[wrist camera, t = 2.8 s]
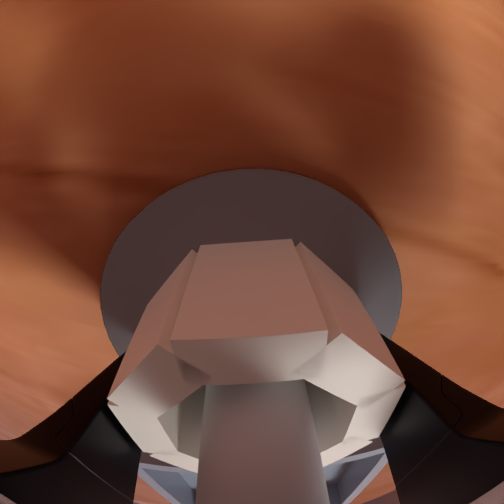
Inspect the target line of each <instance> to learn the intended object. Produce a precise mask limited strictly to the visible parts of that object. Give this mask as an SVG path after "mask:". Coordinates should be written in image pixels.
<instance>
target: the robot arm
mask: <svg viewBox="0 0 504 504" xmlns="http://www.w3.org/2000/svg"><path fill="white" fill-rule="evenodd" d="M380 335H381V337H382V339H383V340H384V342H385V344H386V346H387V347H388V349H389V351H390V353H391V355H392V357H393V358H394V360H395V362H396V364H397V366H398V368H399V369H400V371H401V373H402V375H403V377H404V379H405V381H404V384H405V386H406V387H405V389H404V391H403V393H402V395H401V397H400V399H399V401H398V403H397V405H396V407H395V409H394V411H393V412H392V414H391V416H390V418H389V420H388V422H387V423H386V425H385V427H384V429H383V430H382V432H381V434H380V438H381V441H382V444H383V447H384V450H385V453H386V456H387V460H388V463H389V466H390V469H391V473H392V476H393V480H394V483H395V486H396V490H397V494H398V498H399V501H400V504H504V408H500V407H498V406H496V405H494V404H492V403H490V402H488V401H486V400H484V399H482V398H480V397H479V396H477V395H475V394H473V393H471V392H469V391H468V390H466V389H464V388H462V387H460V386H459V385H457V384H456V383H454V382H453V381H451V380H450V379H448V378H447V377H445V376H444V375H441V374H440V373H439V372H438V371H436V370H435V369H433V368H432V367H430V366H429V365H427V364H426V363H424V362H423V361H421V360H420V359H418V358H417V357H415V356H414V355H412V354H411V353H409V352H408V351H406V350H405V349H403V348H402V347H400V346H399V345H397V344H396V343H394V342H393V341H391V340H390V339H388V338H387V337H385V336H384V335H382V334H381V333H380ZM125 353H126V351H125V352H124V353H123V354H122V355H121V356H120V357H118V358H117V359H116V360H115V361H114V362H113V363H112V364H110V365H109V366H108V367H107V368H106V369H105V370H103V371H102V372H101V373H100V374H99V375H98V376H96V377H95V378H94V379H93V380H92V381H91V382H90V383H88V384H87V385H86V386H85V387H84V388H83V389H82V390H80V391H79V392H78V393H77V394H76V395H75V396H73V399H72V398H71V399H70V400H69V401H68V402H66V403H65V404H64V405H63V406H62V407H61V408H59V409H58V410H57V411H56V412H54V413H53V414H52V415H50V416H49V417H48V418H46V419H45V420H44V421H42V422H41V423H39V424H38V425H37V426H35V427H34V428H32V429H31V430H30V431H28V432H27V433H25V434H24V435H22V436H21V437H18V438H16V439H12V440H0V504H133V500H134V493H135V487H136V481H137V475H138V469H139V463H140V457H141V452H142V450H141V449H140V448H139V446H138V445H137V444H136V443H135V441H134V440H133V439H132V438H131V436H130V435H129V434H128V432H127V431H126V430H125V429H124V427H123V426H122V425H121V423H120V422H119V420H118V419H117V418H116V416H115V415H114V413H113V412H112V411H111V409H110V408H109V406H108V405H107V404H108V402H109V400H108V399H107V397H108V395H109V392H110V390H111V387H112V384H113V382H114V379H115V377H116V375H117V372H118V370H119V367H120V365H121V363H122V360H123V358H124V355H125Z"/></svg>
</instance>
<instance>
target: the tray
mask: <svg viewBox="0 0 504 504" xmlns="http://www.w3.org/2000/svg"><path fill="white" fill-rule="evenodd" d="M372 440H373V442H372V443H370V444H368V445H367V446H365V447H363V448H361V449H359V450H357V451H355V452H353V453H352V454H350V455H348V456H346V457H344V458H342V459H340V460H337V461H335V462H333V463H331V464H329V465H327V466H324V467H323V470H324V475H325V480H326V485H327V491H328V496H329V502H330V504H349V503H350V502H351V501H352V500H353V499H354V498H355V497H356V496H357V495H358V494H359V493H360V492H361V491H362V490H363V489H364V488H365V487H366V486H367V485H368V484H369V483H370V482H371V481H372V480H373V478H374V477H375V476H376V475H377V474H378V473H379V472H380V471H381V469H382V468H383V467H384V466H385V465H386V464H387V462H388V460H387V456H386V453H385V450H384V447H383V444H382V441H381V438H380V435H379V437H378V438H374V439H372ZM149 454H150V453H147V452H143V451H142V452H141V457H140V463H139V469H138V476H139V477H141V478H142V479H143V480H144V481H145V482H146V483H147V484H148V485H150V486H151V487H152V488H153V489H154V490H156V491H157V492H158V493H159V494H160V495H162V496H163V497H164V498H165V499H167V500H168V501H169V502H171V503H172V504H195V502H196V488H197V475H198V473H195V472H192V471H189V470H186V469H183V468H180V467H177V466H174V465H172V464H169V463H166V462H164V461H161V460H159V459H156V458H154V457H151V456H149Z"/></svg>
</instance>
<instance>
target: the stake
mask: <svg viewBox="0 0 504 504" xmlns="http://www.w3.org/2000/svg"><path fill="white" fill-rule="evenodd" d="M281 239H292V241H293V243H294V245H295V247H296V246H297V245H298V244H299V243H300V242H301V243H303V244H304V245H305V246H306V247H307V248H308V249H309V250H310V251H312V252H313V253H314V254H315V255H316V256H317V257H318V258H319V259H320V260H322V261H323V262H324V263H325V264H326V265H327V266H328V267H329V268H330V269H332V270H333V271H334V272H335V273H336V274H337V275H338V276H339V277H340V278H341V279H342V280H344V281H345V282H346V283H347V284H348V285H349V286H350V287H351V288H352V289H353V290H354V291H355V293H356V294H357V296H358V298H359V299H360V301H361V303H362V304H363V306H364V308H365V309H366V311H367V313H368V314H369V316H370V318H371V319H372V321H373V323H374V325H375V326H376V328H377V330H378V332H379V333H381V334H382V335H384V336H385V337H387V338H388V339H391V337H392V335H393V333H394V330H395V327H396V324H397V321H398V318H399V313H400V308H401V300H402V283H401V275H400V269H399V266H398V262H397V259H396V256H395V253H394V251H393V249H392V247H391V245H390V243H389V241H388V239H387V237H386V236H385V234H384V233H383V231H382V230H381V229H380V227H379V226H378V224H377V223H376V222H375V221H374V220H373V219H372V218H371V217H370V216H369V215H368V214H367V213H366V212H365V211H364V210H363V209H362V208H361V207H360V206H359V205H357V204H356V203H355V202H353V201H352V200H350V199H349V198H347V197H346V196H345V195H343V194H342V193H340V192H339V191H337V190H336V189H334V188H332V187H330V186H328V185H326V184H324V183H322V182H320V181H317V180H315V179H313V178H309V177H306V176H303V175H300V174H296V173H293V172H288V171H282V170H275V169H268V168H239V169H232V170H225V171H218V172H214V173H210V174H207V175H204V176H200V177H197V178H194V179H191V180H189V181H187V182H184V183H182V184H180V185H178V186H176V187H174V188H172V189H170V190H168V191H167V192H165V193H164V194H162V195H161V196H159V197H158V198H157V199H155V200H154V201H152V202H151V203H150V204H149V205H147V206H146V207H145V208H144V209H143V210H142V211H141V212H140V213H139V214H138V215H137V216H136V217H135V218H134V219H133V220H131V221H130V222H129V224H128V225H127V226H126V228H125V229H124V230H123V232H122V233H121V234H120V236H119V237H118V238H117V240H116V242H115V244H114V246H113V248H112V249H111V251H110V253H109V255H108V258H107V261H106V264H105V267H104V271H103V274H102V281H101V289H100V299H101V311H102V316H103V321H104V325H105V328H106V331H107V334H108V336H109V339H110V341H111V343H112V345H113V347H114V348H115V350H116V352H117V354H118V355H119V356H121V355H122V354H123V353H124V352H125V351H127V348H128V346H129V344H130V342H131V339H132V337H133V335H134V333H135V330H136V328H137V326H138V324H139V322H140V319H141V317H142V315H143V313H144V311H145V309H146V306H147V304H148V303H149V302H150V300H151V299H152V298H153V297H154V295H155V294H156V293H157V292H158V290H159V289H160V288H161V287H162V285H163V284H164V283H165V282H166V280H167V279H168V278H169V277H170V275H171V274H172V273H173V272H174V271H175V269H176V268H177V267H178V266H179V264H180V263H181V262H182V261H183V260H184V258H185V257H186V256H187V255H188V254H189V252H190V251H191V250H192V249H193V250H194V251H195V252H197V253H198V250H199V248H200V245H209V244H223V243H237V242H251V241H266V240H281ZM195 504H330V502H329V496H328V491H327V485H326V480H325V475H324V470H323V465H322V460H321V455H320V449H319V445H318V440H317V435H316V430H315V425H314V420H313V415H312V411H311V406H310V401H309V397H308V392H307V387H306V383H305V379H300V380H291V381H281V382H269V383H255V384H235V385H206V391H205V400H204V410H203V420H202V430H201V440H200V451H199V463H198V475H197V488H196V502H195Z"/></svg>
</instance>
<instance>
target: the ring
mask: <svg viewBox="0 0 504 504" xmlns="http://www.w3.org/2000/svg"><path fill="white" fill-rule="evenodd" d="M300 379H305V383H306V387H307V392H308V397H309V401H310V406H311V411H312V415H313V420H314V425H315V430H316V435H317V440H318V445H319V449H320V455H321V460H322V465H323V467H324V466H327V465H329V464H331V463H333V462H335V461H337V460H340V459H342V458H344V457H346V456H348V455H350V454H352V453H353V452H355V451H357V450H359V449H361V448H363V447H365V446H367V445H368V444H370V443H372V442H373V440H372V439H374V438H378V437H379V435H380V434H381V432H382V430H383V429H384V427H385V425H386V423H387V422H388V420H389V418H390V416H391V414H392V412H393V411H394V409H395V407H396V405H397V403H398V401H399V399H400V397H401V395H402V393H403V391H404V389H405V387H406V386H405V384H404V381H405V379H404V377H403V375H402V373H401V371H400V369H399V368H398V366H397V364H396V362H395V360H394V358H393V357H392V355H391V353H390V351H389V349H388V347H387V346H386V344H385V342H384V340H383V339H382V337H381V335H380V333H379V332H378V330H377V328H376V326H375V325H374V323H373V321H372V319H371V318H370V316H369V314H368V313H367V311H366V309H365V308H364V306H363V304H362V303H361V301H360V299H359V298H358V296H357V294H356V293H355V291H354V290H353V289H352V288H351V287H350V286H349V285H348V284H347V283H346V282H345V281H344V280H342V279H341V278H340V277H339V276H338V275H337V274H336V273H335V272H334V271H333V270H332V269H330V268H329V267H328V266H327V265H326V264H325V263H324V262H323V261H322V260H320V259H319V258H318V257H317V256H316V255H315V254H314V253H313V252H312V251H310V250H309V249H308V248H307V247H306V246H305V245H304V244H303V243H301V242H300V243H299V244H298V245H297V246H296V247H295V245H294V243H293V241H292V239H281V240H266V241H251V242H237V243H223V244H209V245H200V248H199V250H198V253H197V252H195V251H194V250H193V249H192V250H191V251H190V252H189V254H188V255H187V256H186V257H185V258H184V260H183V261H182V262H181V263H180V264H179V266H178V267H177V268H176V269H175V271H174V272H173V273H172V274H171V275H170V277H169V278H168V279H167V280H166V282H165V283H164V284H163V285H162V287H161V288H160V289H159V290H158V292H157V293H156V294H155V295H154V297H153V298H152V299H151V300H150V302H149V303H148V304H147V306H146V309H145V311H144V313H143V315H142V317H141V319H140V322H139V324H138V326H137V328H136V330H135V333H134V335H133V337H132V339H131V342H130V344H129V346H128V348H127V351H126V353H125V355H124V358H123V360H122V363H121V365H120V367H119V370H118V372H117V375H116V377H115V379H114V382H113V384H112V387H111V390H110V392H109V395H108V397H107V399H108V400H109V402H108V404H107V405H108V406H109V408H110V409H111V411H112V412H113V413H114V415H115V416H116V418H117V419H118V420H119V422H120V423H121V425H122V426H123V427H124V429H125V430H126V431H127V432H128V434H129V435H130V436H131V438H132V439H133V440H134V441H135V443H136V444H137V445H138V446H139V448H140V449H141V450H142V451H143V452H147V453H150V454H149V456H151V457H154V458H156V459H159V460H161V461H164V462H166V463H169V464H172V465H174V466H177V467H180V468H183V469H186V470H189V471H192V472H195V473H198V463H199V451H200V440H201V430H202V420H203V410H204V400H205V391H206V385H235V384H255V383H269V382H281V381H291V380H300Z"/></svg>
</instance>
